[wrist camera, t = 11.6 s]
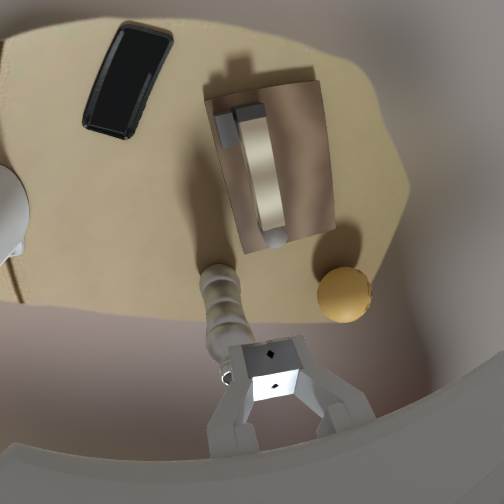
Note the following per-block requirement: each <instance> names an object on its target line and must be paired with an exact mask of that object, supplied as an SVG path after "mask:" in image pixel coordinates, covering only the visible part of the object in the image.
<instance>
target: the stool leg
mask: <svg viewBox="0 0 504 504" xmlns="http://www.w3.org/2000/svg"><path fill="white" fill-rule="evenodd" d="M231 110H232V114H233V118H234V120H235V123H236V127H237V132H238V136H239V140H240V145H241V149H242V154H243V158H244V162H245V167H246V171H247V176H248V180H249V185H250V189H251V194H252V198H253V203H254V207H255V212H256V216H257V219H258V221H259V223H258V228H259V231H260V233H261V235H262V237H263V239H264V241H265V244H266V245H267V246H268V247H270V248H279V247H281V246H283V245H284V244H285V243H286V241H287V238H288V234H287V232H286V230H285V229H284V227H283V226H285V220H284V214H283V208H282V202H281V196H280V190H279V185H278V179H277V174H276V168H275V163H274V157H273V152H272V147H271V141H270V136H269V131H268V126H267V121H266V117H267V116H266V111H265V106H264V103H260V102H253V103H248V104H243V105H239V106H234V107H231Z"/></svg>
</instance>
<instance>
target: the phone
mask: <svg viewBox="0 0 504 504" xmlns="http://www.w3.org/2000/svg"><path fill="white" fill-rule="evenodd" d="M173 43H174V40H173V38H172V36H171V35H169V34H166V33H162V32H159V31H155V30H151V29H147V28H144V27H139V26H135V25H131V24H126V25H123V26H122V27H120V28H119V30H118V32H117V34H116V36H115V38H114V40H113V42H112V44H111V46H110V48H109V50H108V53H107V55H106V57H105V59H104V62H103V64H102V66H101V69H100V71H99V74H98V76H97V79H96V81H95V84H94V86H93V89H92V92H91V95H90V97H89V100H88V103H87V106H86V109H85V112H84V115H83V119H82V125H83V127H84V128H86V129H88V130H92V131H95V132H99V133H102V134H106V135H109V136H112V137H116V138H119V139H122V140H128V139H130V138H131V137H132V136H133V135H134V133H135V131H136V128H137V126H138V124H139V123H138V122H139V120H140V119H141V116H142V114H143V113H142V112H143V111H144V109H145V106H146V102H147V100H148V97H149V95H150V93H151V90H152V88H153V86H154V83H155V81H156V79H157V77H158V75H159V73H160V70H161V68H162V66H163V64H164V62H165V60H166V58H167V56H168V54H169V52H170V50H171V48H172V46H173Z"/></svg>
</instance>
